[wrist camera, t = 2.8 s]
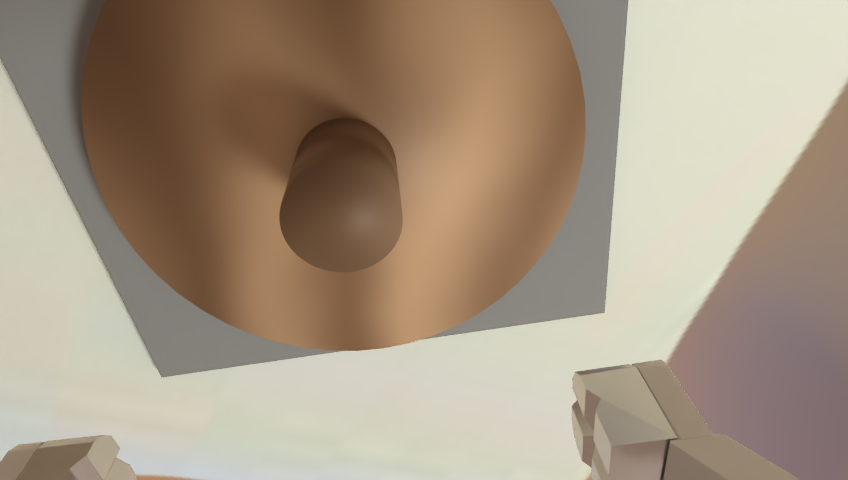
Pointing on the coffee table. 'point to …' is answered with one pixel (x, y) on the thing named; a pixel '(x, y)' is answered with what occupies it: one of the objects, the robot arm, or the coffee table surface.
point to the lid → (335, 156)
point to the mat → (229, 346)
